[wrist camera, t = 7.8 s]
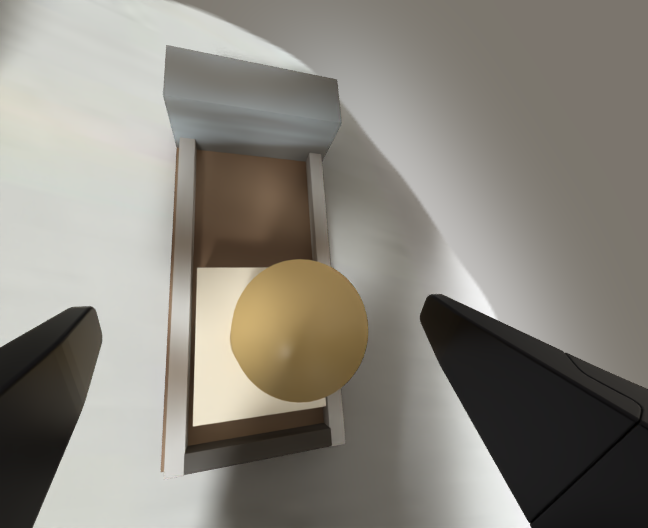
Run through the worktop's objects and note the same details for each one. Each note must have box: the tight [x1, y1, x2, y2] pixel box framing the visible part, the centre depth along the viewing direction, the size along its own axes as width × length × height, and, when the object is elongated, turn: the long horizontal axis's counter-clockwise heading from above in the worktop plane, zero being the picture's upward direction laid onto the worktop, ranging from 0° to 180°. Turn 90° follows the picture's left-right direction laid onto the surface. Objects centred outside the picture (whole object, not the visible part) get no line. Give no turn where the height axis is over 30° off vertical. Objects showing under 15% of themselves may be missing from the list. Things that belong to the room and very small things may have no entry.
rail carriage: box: [193, 259, 368, 426], centre depth 11 cm, size 7×6×11 cm
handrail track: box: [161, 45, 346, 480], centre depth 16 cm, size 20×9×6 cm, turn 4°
